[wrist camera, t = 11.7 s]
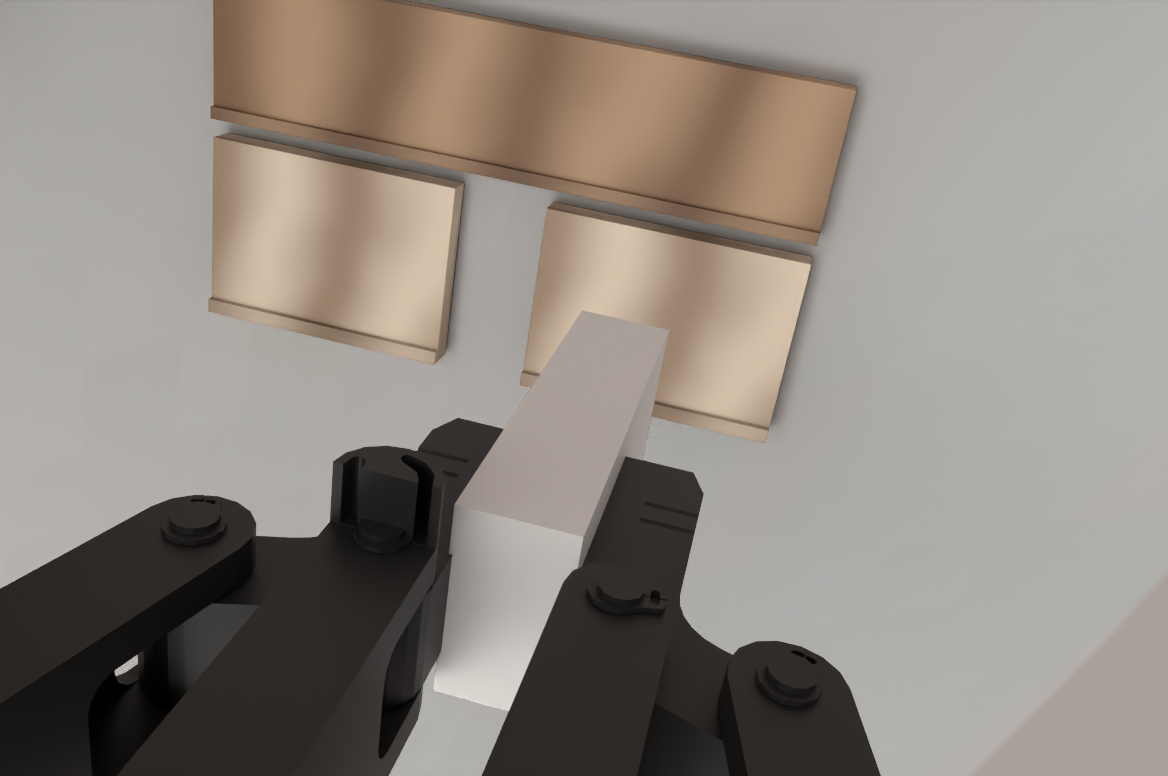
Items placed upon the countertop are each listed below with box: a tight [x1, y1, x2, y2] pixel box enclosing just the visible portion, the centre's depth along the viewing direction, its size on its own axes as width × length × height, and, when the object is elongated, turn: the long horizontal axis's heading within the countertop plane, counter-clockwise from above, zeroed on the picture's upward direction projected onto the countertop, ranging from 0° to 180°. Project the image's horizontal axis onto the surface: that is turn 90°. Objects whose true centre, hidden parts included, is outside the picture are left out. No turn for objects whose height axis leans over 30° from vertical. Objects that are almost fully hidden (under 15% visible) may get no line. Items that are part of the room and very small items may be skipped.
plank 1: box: [208, 133, 464, 365], centre depth 46 cm, size 11×8×2 cm
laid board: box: [211, 0, 857, 246], centre depth 42 cm, size 26×6×2 cm, turn 81°
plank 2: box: [520, 202, 812, 443], centre depth 44 cm, size 11×8×2 cm
